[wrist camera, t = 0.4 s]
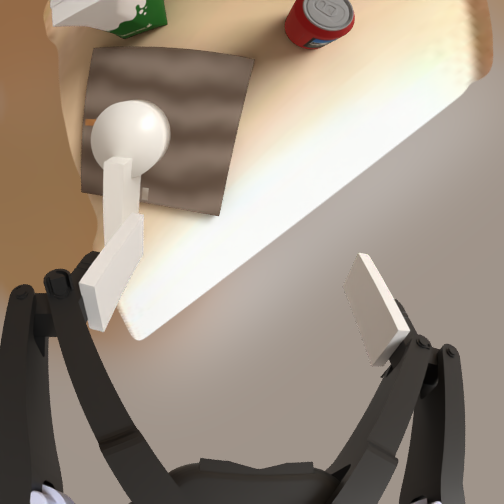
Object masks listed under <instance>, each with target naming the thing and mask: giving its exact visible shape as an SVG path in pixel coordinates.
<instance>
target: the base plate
mask: <svg viewBox="0 0 504 504" xmlns="http://www.w3.org/2000/svg"><path fill="white" fill-rule="evenodd" d="M253 64H254V59H251V58H246V57H241V56H235V55H229V54H223V53H216V52H209V51H201V50H191V49H180V48H165V47H104V48H94V49H93V54H92V59H91V65H90V71H89V77H88V84H87V91H86V99H85V108H84V119H83V132H82V154H81V190H82V191H81V192H83V193H89V194H96V195H102V196H103V171H104V170H103V169H102V168H101V167H100V165H99V164H98V163H97V161H96V159H95V157H94V155H93V152H92V148H91V133H92V128H93V126H94V123H95V121H96V119H97V118H98V116H99V115H100V114H101V113H102V112H103V111H104V110H105V109H106V108H108V107H109V106H111V105H113V104H115V103H119V102H124V101H130V100H146V101H149V102H152V103H154V104H155V105H157V106H158V107H159V108H160V109H161V110H162V111H163V112H164V114H165V115H166V117H167V119H168V122H169V125H170V132H171V136H170V142H169V146H168V149H167V151H166V153H165V154H164V156H163V157H162V158H161V159H160V160H159V161H158V162H157V163H156V164H154V165H153V166H152V167H151V168H150V169H149V170H148V171H146V172H145V173H143V174H142V175H141V182H140V198H139V202H144V203H150V204H155V205H161V206H167V207H172V208H178V209H183V210H189V211H194V212H199V213H204V214H210V215H215V216H219V214H220V210H221V204H222V200H223V195H224V190H225V185H226V180H227V175H228V170H229V166H230V161H231V157H232V152H233V147H234V143H235V139H236V134H237V130H238V125H239V121H240V117H241V113H242V108H243V104H244V100H245V96H246V92H247V88H248V84H249V80H250V76H251V72H252V68H253Z"/></svg>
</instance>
